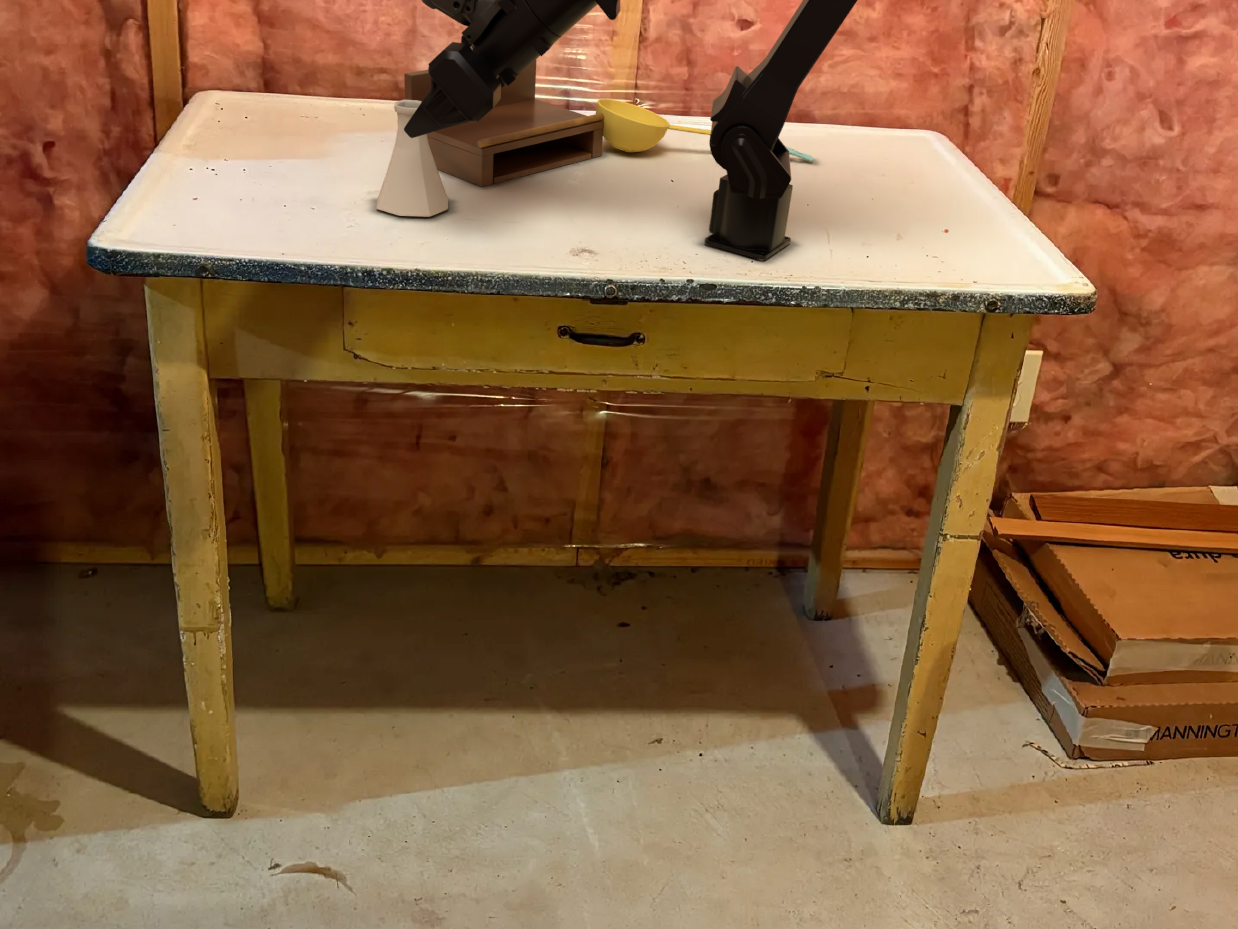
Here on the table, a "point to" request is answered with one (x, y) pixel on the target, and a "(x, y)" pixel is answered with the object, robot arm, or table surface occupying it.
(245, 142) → the table surface
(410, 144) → the flask
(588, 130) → the spice rack
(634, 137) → the ladle
